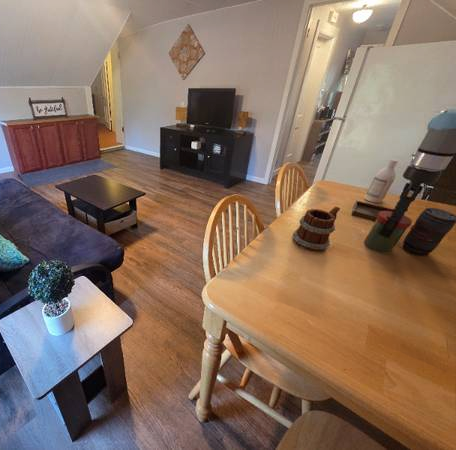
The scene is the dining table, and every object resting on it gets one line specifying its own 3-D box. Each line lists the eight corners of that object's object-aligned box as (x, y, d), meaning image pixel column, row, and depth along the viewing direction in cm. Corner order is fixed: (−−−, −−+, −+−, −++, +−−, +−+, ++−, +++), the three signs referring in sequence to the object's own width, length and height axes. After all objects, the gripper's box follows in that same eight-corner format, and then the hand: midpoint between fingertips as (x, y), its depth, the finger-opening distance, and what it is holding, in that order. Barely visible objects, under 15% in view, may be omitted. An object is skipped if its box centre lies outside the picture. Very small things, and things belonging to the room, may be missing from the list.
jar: (391, 245, 88) (409, 217, 82) (391, 256, 83) (410, 227, 77) (364, 237, 92) (379, 210, 86) (362, 247, 87) (378, 219, 81)
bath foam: (375, 197, 122) (396, 157, 112) (385, 203, 116) (408, 162, 106) (360, 196, 123) (380, 157, 112) (369, 202, 117) (391, 161, 106)
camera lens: (401, 252, 85) (426, 214, 77) (398, 241, 90) (421, 205, 82) (433, 260, 81) (463, 222, 73) (427, 248, 87) (455, 211, 79)
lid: (379, 212, 87) (381, 208, 86) (410, 222, 82) (413, 217, 81) (373, 221, 82) (376, 216, 81) (407, 231, 77) (410, 226, 76)
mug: (282, 238, 91) (299, 201, 84) (305, 234, 98) (323, 200, 91) (311, 256, 82) (333, 216, 75) (334, 250, 89) (356, 214, 82)
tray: (401, 215, 106) (404, 211, 105) (402, 228, 98) (405, 224, 97) (354, 204, 116) (356, 200, 114) (351, 214, 107) (353, 210, 106)
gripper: (413, 157, 81) (379, 216, 93) (403, 172, 68) (366, 238, 80) (445, 162, 76) (405, 224, 88) (441, 179, 64) (395, 248, 76)
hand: (386, 230), depth 84 cm, fingers closed on lid, 8 cm apart
